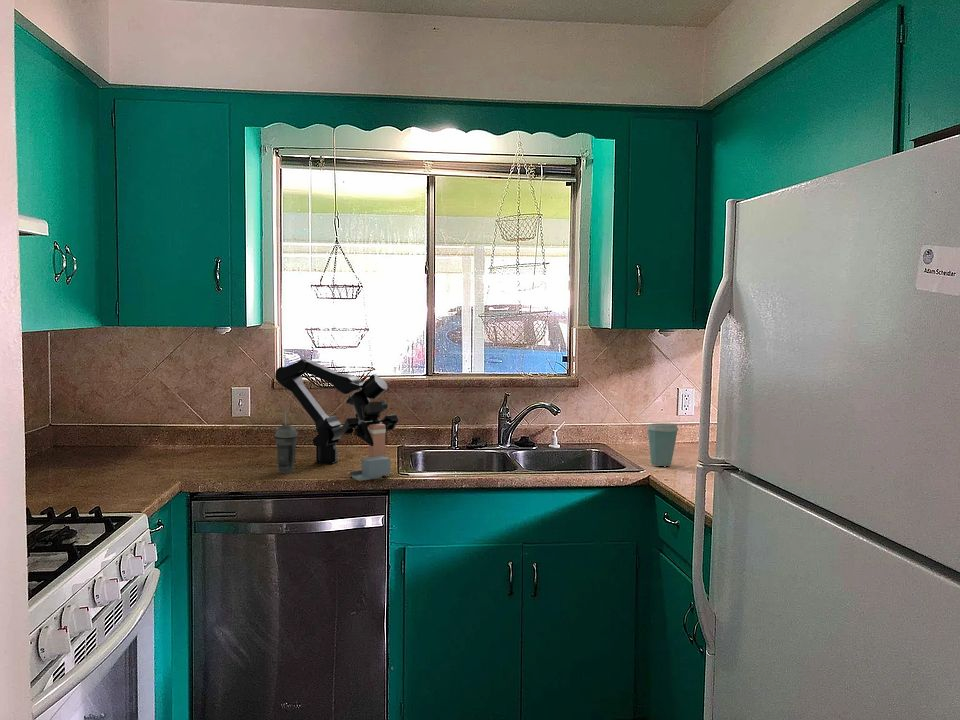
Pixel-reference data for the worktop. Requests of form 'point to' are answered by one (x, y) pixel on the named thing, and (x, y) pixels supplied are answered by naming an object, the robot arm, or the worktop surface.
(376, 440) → the pink bottle
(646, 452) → the worktop surface
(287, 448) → the beverage cup
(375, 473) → the dispenser
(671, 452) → the disposable coffee cup
